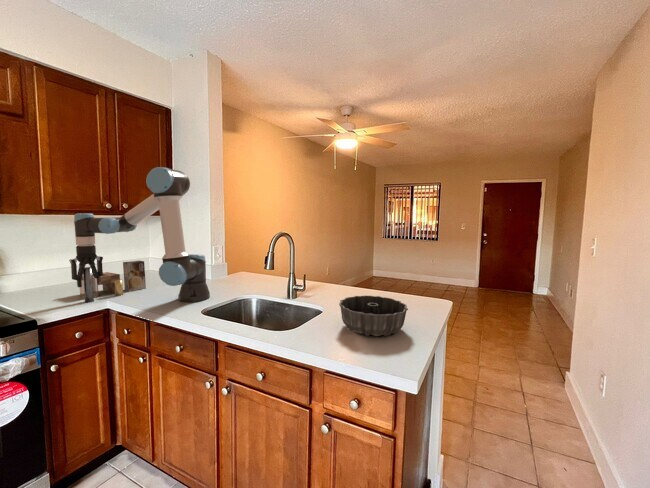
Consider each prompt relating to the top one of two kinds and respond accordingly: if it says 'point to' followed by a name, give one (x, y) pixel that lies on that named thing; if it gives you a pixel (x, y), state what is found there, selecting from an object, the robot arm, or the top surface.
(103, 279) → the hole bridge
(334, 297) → the top surface
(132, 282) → the coffee box
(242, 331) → the top surface
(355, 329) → the bundt pan
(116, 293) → the short brass pin
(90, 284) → the tall steel pin
